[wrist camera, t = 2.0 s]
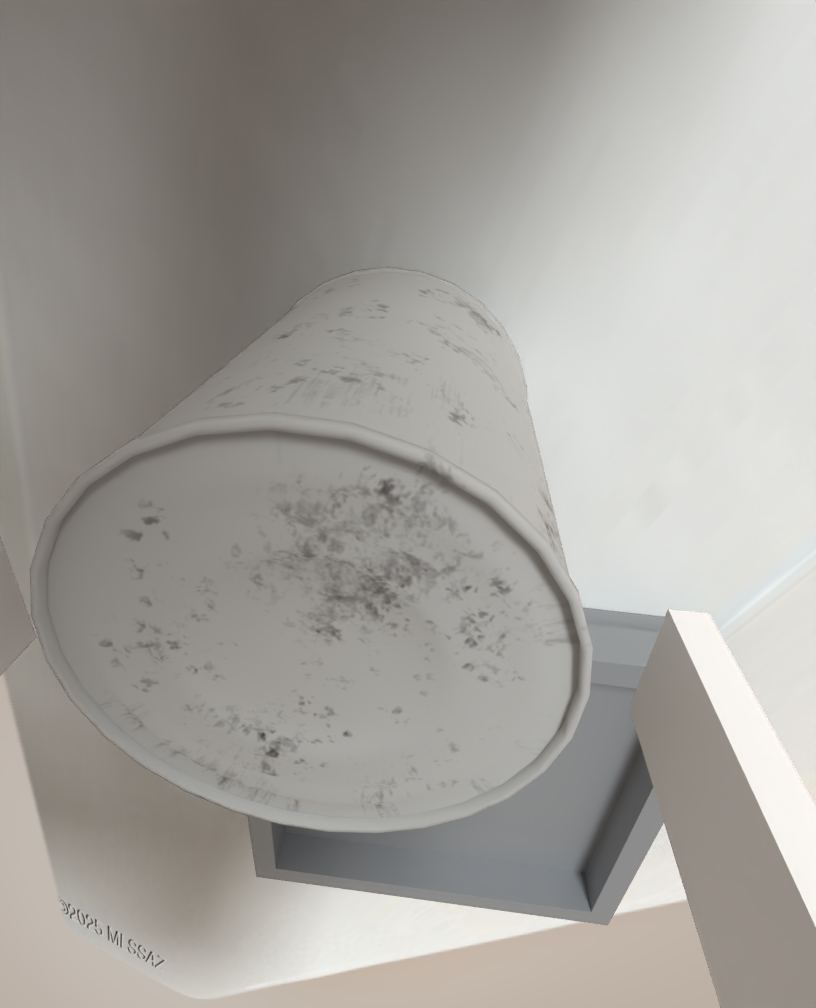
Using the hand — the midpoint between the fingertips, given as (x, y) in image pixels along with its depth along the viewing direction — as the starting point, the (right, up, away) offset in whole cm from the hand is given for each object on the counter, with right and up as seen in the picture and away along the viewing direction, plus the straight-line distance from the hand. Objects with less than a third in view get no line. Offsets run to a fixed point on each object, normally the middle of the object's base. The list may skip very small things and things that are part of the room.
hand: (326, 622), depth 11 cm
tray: (+4, -10, +18) cm, 21 cm away
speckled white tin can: (+1, +6, +9) cm, 11 cm away
